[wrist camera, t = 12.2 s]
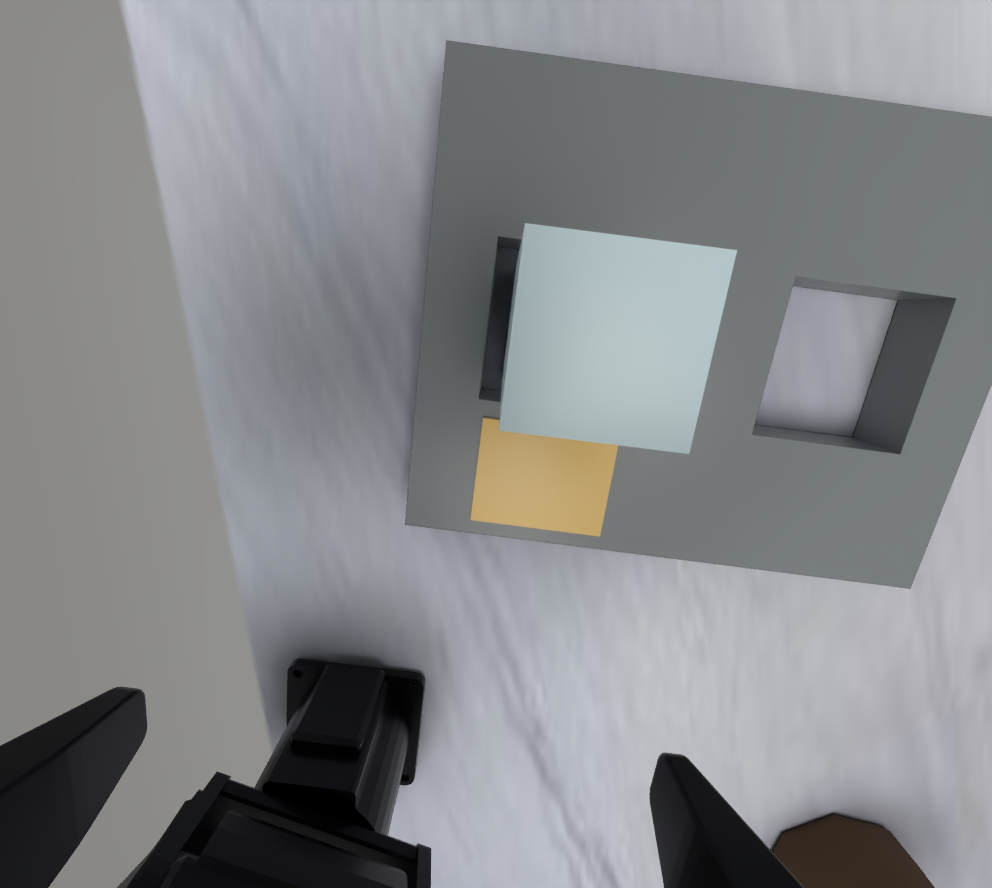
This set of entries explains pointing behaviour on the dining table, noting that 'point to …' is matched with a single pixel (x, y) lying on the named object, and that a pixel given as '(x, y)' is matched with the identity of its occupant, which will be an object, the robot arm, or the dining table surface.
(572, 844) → the dining table surface
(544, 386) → the plug
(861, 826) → the beer bottle
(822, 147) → the socket panel
